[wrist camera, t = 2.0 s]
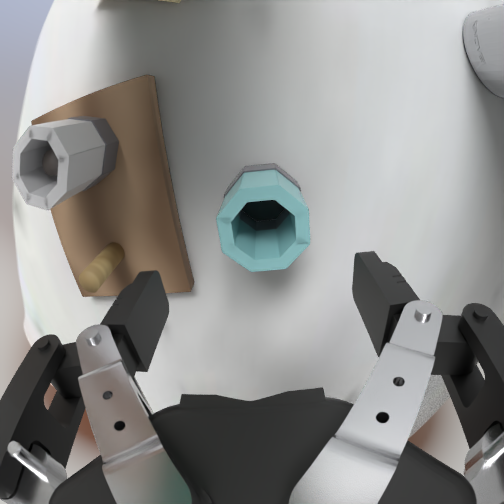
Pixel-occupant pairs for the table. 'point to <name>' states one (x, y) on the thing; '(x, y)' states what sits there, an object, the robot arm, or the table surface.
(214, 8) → the table surface
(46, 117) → the brown peg stand
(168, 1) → the carriage clock
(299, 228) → the teal sleeve
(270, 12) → the table surface
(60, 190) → the grey sleeve
